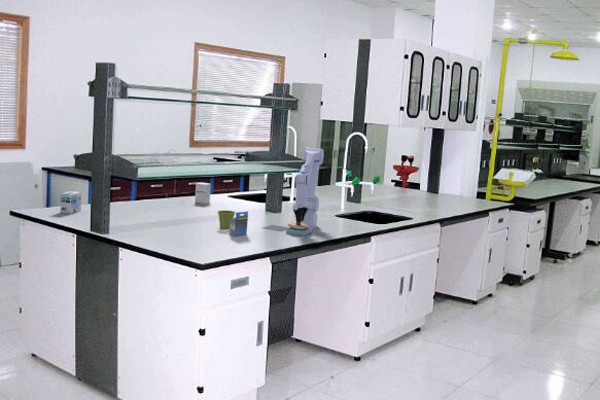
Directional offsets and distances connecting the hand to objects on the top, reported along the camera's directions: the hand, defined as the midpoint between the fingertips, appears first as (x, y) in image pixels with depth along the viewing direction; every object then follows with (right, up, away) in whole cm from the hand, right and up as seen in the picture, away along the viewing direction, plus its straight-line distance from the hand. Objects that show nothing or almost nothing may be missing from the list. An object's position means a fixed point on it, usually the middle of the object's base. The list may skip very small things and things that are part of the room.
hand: (299, 221), depth 342 cm
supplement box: (-62, +9, +75) cm, 98 cm away
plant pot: (-39, -4, +3) cm, 40 cm away
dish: (0, -6, +1) cm, 6 cm away
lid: (-1, -2, +1) cm, 3 cm away
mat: (-12, -4, +10) cm, 17 cm away
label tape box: (-31, -7, -12) cm, 34 cm away
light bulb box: (-126, +5, +17) cm, 128 cm away
